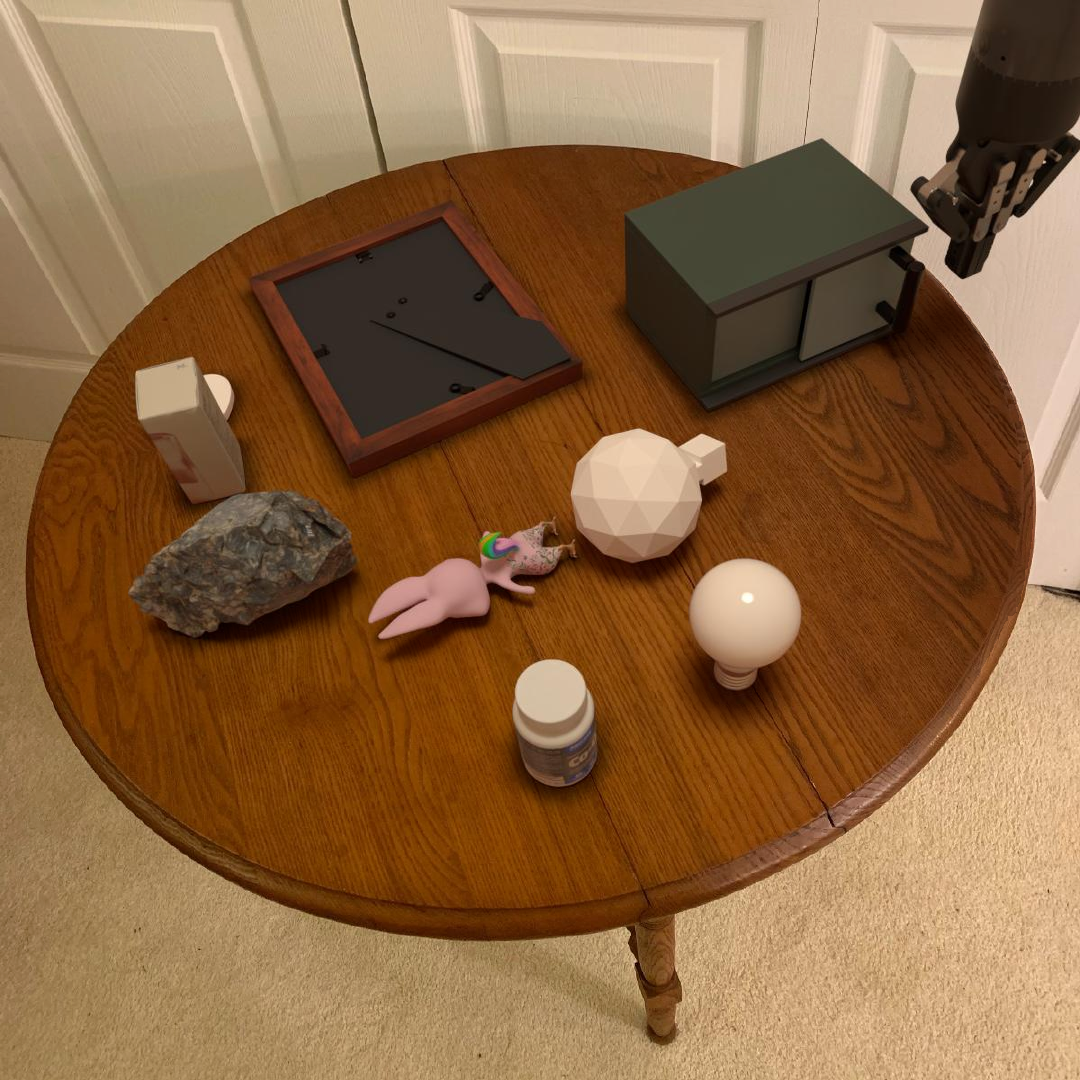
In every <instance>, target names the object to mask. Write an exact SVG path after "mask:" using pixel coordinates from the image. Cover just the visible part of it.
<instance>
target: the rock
mask: <svg viewBox="0 0 1080 1080" xmlns="http://www.w3.org/2000/svg"><path fill="white" fill-rule="evenodd" d="M352 538H353V534H352V531H350V529H349V528H348V527H347V526H346V525H345V523H344V522H343V521H341V520H340V519H338V518H337V517H336V516H335V515H333V514H332V513H331V512H330V511H329V509H327V508H326V507H325V506H323V505H322V504H320V502H319V501H318V500H317V499H313V498H309V497H306V496H304V495H303V494H302V493H300V492H298V491H295V490H292V489H289V490H286V491H283V490H279V489H277V490H271V491H270V490H269V491H256V492H250V493H239V494H236V495H232V496H229V498H228V497H227V498H226V499H225V500H223V502H220V503H218V504H217V505H216V506H214V507H213V508H212V509H211V510H209V511H207V513H205V514H204V515H203V516H201V517H200V518H199V519H198V520H196V521H195V522H194V524H193V526H191V527H188V529H186V530H185V531H183V532H182V534H181V535H180V536H179V537H178V538H176V539H175V540H173V541H172V542H170V543H169V544H167V545H166V546H164V547H162V548H161V550H159V551H157V552H156V553H154V554H153V555H152V556H151V557H150V561H149V563H148V564H146V565H145V566H144V568H143V574H141V575H140V576H137V577H135V579H134V580H133V583H132V584H133V585H132V586H131V587H130V589H129V591H128V592H127V594H128V595H129V597H130V599H131V600H132V601H133V602H135V603H136V604H138V605H139V606H140V607H139V610H140V611H141V612H142V613H144V614H145V615H149V616H154V617H156V618H159V619H160V620H162V621H164V622H166V625H167V627H168V628H170V629H172V630H174V631H178V632H180V633H183V634H185V635H187V636H190V637H192V638H193V639H196V638H198V637H201V636H203V634H204V633H205V632H208V633H212V632H215V631H217V630H218V629H219V626H220V624H221V623H224V624H227V623H236V624H238V625H243V626H244V625H245V626H249V625H251V624H252V623H253V622H254V621H255V620H257V619H258V618H260V617H262V616H264V615H265V614H270V613H272V612H274V611H277V610H279V609H282V608H283V607H285V606H287V605H288V604H294V603H295V602H296V603H297V602H298V601H301V600H303V599H305V598H307V597H308V596H309V595H310V594H311V593H312V592H314V591H316V590H317V589H320V588H323V587H325V586H327V585H328V584H330V583H333V582H335V581H336V580H337V579H340V578H342V577H344V576H347V575H348V574H349V573H350V572H351V571H352V570H353V569H354V568H355V567H356V565H357V560H358V559H357V556H355V555H354V554H353V545H352V543H350V542H351V540H352Z"/></svg>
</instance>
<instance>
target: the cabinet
mask: <svg viewBox="0 0 1080 1080" xmlns="http://www.w3.org/2000/svg"><path fill="white" fill-rule="evenodd" d="M623 217H624V219H623V220H624V273H625V274H624V275H625V277H624V279H625V281H624V282H625V313H626V315H627V316H628V317H629V318H630V319H631V321H632V322H633V323H634V325H635V326H636V327H637V328H638V330H639V331H640V333H642V334H643V336H644V337H645V338H646V339H647V341H649V343H650V344H651V346H653V348H654V349H655V350H656V351H657V353H658V354H659V355H660V356H661V358H663V360H664V361H665V362H666V363H667V365H668V366H669V367H670V369H671V370H672V371H673V372H674V373H675V374H676V375H677V377H678V379H680V380H681V382H682V383H683V384H684V386H686V388H687V389H688V390H689V391H690V393H691V394H692V395H693V396H694V398H695V399H697V401H698V402H699V403H700V405H701V406H702V407H703V409H704V410H705V411H706V412H707V413H711V412H712V411H715V410H717V409H720V408H722V407H724V406H727V405H729V404H731V403H733V402H735V401H739V400H740V399H742V398H745V397H747V396H750V395H752V394H754V393H756V392H759V391H761V390H763V389H766V388H768V387H770V386H773V385H775V384H777V383H780V382H782V381H785V380H787V379H789V378H791V377H793V376H796V375H798V374H801V373H803V372H805V371H807V370H810V369H813V368H814V367H817V366H820V365H821V364H823V363H826V362H828V361H830V360H833V359H836V358H838V357H840V356H842V355H844V354H847V353H850V352H851V351H854V350H857V349H859V348H860V347H863V346H865V345H867V344H870V343H872V342H875V341H877V340H879V339H881V338H884V337H887V336H889V335H891V334H893V333H895V332H894V331H893V330H892V328H891V325H892V324H891V325H889V324H887V325H884V326H882V327H880V328H877V329H875V330H873V331H870V332H868V333H866V334H863V335H861V336H859V337H856V338H854V339H852V340H849V341H847V342H845V343H842V344H840V345H838V346H835V347H833V348H831V349H828V350H826V351H824V352H821V353H819V354H817V355H814V356H812V357H810V358H807V359H805V360H803V361H801V360H800V359H799V354H800V349H801V343H802V337H803V332H804V326H805V321H806V315H807V309H808V304H809V298H810V293H811V287H812V281H813V279H815V278H818V277H820V276H822V275H825V274H827V273H830V272H832V271H834V270H837V269H839V268H842V267H844V266H847V265H849V264H851V263H854V262H856V261H859V260H861V259H864V258H866V257H868V256H871V255H873V254H876V253H878V252H881V251H883V250H885V249H888V248H890V247H893V246H895V245H898V244H900V243H902V242H905V241H907V240H910V239H912V238H917V237H920V236H922V235H924V234H927V233H928V232H929V230H930V226H929V225H928V224H926V223H925V222H924V221H923V220H922V219H921V218H919V216H917V215H915V214H914V213H913V212H912V211H911V210H909V209H908V208H907V207H906V206H905V205H903V203H901V202H900V201H899V200H897V199H896V198H895V197H894V196H892V194H890V192H888V191H887V190H885V189H884V188H883V187H882V186H881V185H879V184H878V183H877V182H876V181H874V179H873V178H871V177H870V176H868V175H867V174H866V173H865V172H864V171H863V170H861V169H860V168H859V167H858V166H857V165H855V164H854V163H853V162H852V161H850V160H849V159H848V158H847V157H846V156H844V154H842V153H841V152H840V151H839V150H837V149H836V148H835V147H834V146H833V145H832V144H830V143H829V142H828V141H827V140H825V139H824V138H823V137H821V138H818V139H816V140H813V141H810V142H807V143H805V144H802V145H799V146H798V147H794V148H792V149H790V150H787V151H785V152H784V151H783V152H781V153H779V154H777V155H774V156H771V157H769V158H766V159H763V160H761V161H758V162H755V163H752V164H750V165H748V166H744V167H742V168H739V169H736V170H734V171H730V172H729V173H727V174H724V175H721V176H719V177H716V178H714V179H711V180H708V181H705V182H703V183H699V184H697V185H695V186H691V187H690V188H686V189H683V190H681V191H679V192H676V193H674V194H671V195H669V196H666V197H663V198H661V199H657V200H655V201H653V202H651V203H650V202H649V203H648V204H645V205H643V206H640V207H636V208H634V209H632V210H629V211H626V212H624V216H623Z"/></svg>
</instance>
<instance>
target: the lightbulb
mask: <svg viewBox="0 0 1080 1080" xmlns="http://www.w3.org/2000/svg"><path fill="white" fill-rule="evenodd" d="M688 619H689V625H690V628H691V632H692V635H693V637H694V638H695V641H696V642H697V644H698V646H699V647H700V648H701V650H703V651H704V653H705V654H706V655H708V656H709V657H710V658H711V659H713V660H714V664H713V674H714V678H715V680H716V681H717V683H718V684H719V685H720V686H721V687H723V688H725V689H727V690H730V691H734V692H735V691H737V692H738V691H739V692H740V691H744V690H746V689H748V688H750V687H751V686H752V685H753V684H754V683H755V681H756V679H757V675H758V670H759V668H762V667H765V666H768V665H771V664H773V663H774V662H776V661H777V660H779V659H780V658H781V657H783V656H784V655H785V654H786V653H787V652H788V651H789V650H790V649H791V647H792V646H793V645H794V643H795V641H796V639H797V637H798V635H799V632H800V629H801V625H802V604H801V599H800V597H799V594H798V591H797V590H796V588H795V586H794V584H793V583H792V581H791V580H790V579H789V578H788V577H787V576H786V575H785V573H783V572H782V571H781V570H780V569H779V568H777V567H776V566H774V565H772V564H770V563H769V562H765V561H763V560H759V559H756V558H749V557H748V558H744V557H743V558H742V557H741V558H734V559H729V560H726V561H723V562H721V563H719V564H717V565H715V566H714V567H711V568H710V569H709V570H708V571H707V572H706V573H705V574H704V575H702V577H701V578H700V580H699V581H698V582H697V584H696V585H695V587H694V589H693V591H692V593H691V597H690V600H689V606H688Z"/></svg>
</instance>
